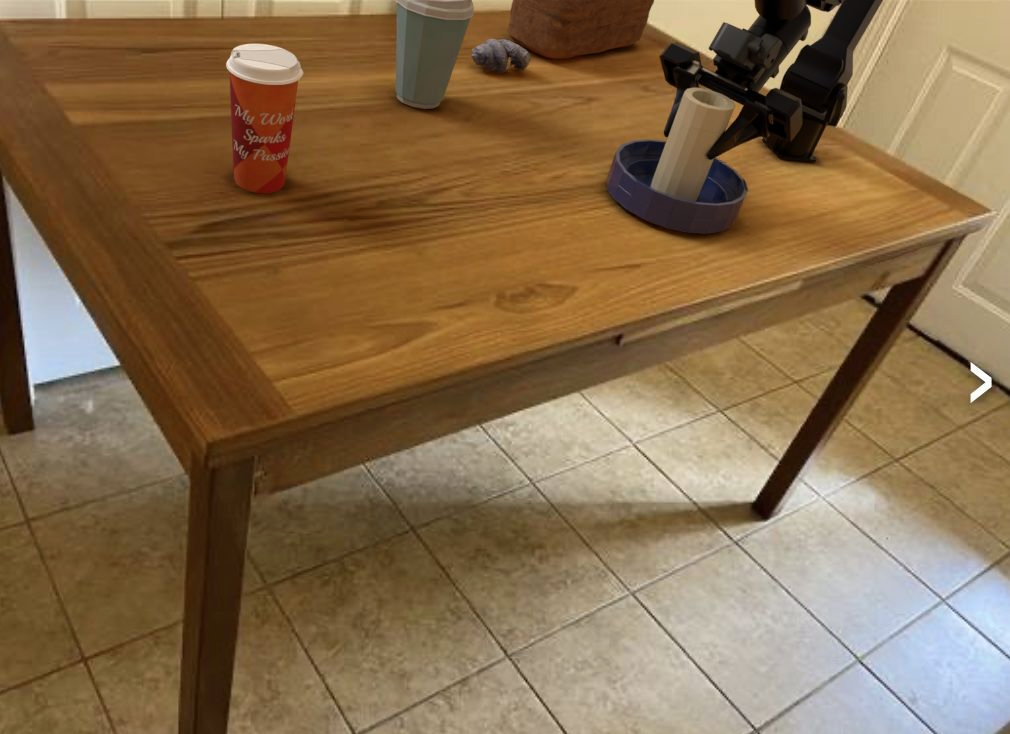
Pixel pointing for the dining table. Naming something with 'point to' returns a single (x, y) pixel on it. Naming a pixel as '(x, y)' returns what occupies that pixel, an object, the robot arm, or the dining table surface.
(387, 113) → the dining table surface
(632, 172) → the bowl
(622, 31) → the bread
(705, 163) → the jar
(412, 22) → the disposable coffee cup
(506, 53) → the grey croissant
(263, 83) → the paper cup
